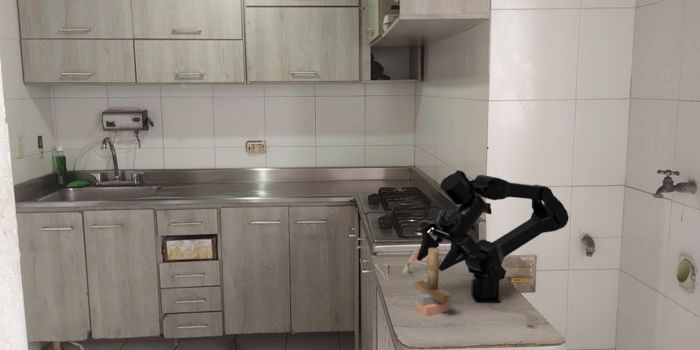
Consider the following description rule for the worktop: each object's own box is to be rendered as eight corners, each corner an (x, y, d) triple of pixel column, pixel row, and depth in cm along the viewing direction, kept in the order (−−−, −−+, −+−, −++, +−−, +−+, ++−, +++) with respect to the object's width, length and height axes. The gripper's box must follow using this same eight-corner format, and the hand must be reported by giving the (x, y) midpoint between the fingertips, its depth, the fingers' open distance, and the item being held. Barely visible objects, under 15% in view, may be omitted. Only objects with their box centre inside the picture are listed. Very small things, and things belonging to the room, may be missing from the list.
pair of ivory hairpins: (373, 267, 178) (373, 261, 178) (388, 267, 178) (388, 261, 178) (380, 290, 161) (380, 283, 161) (397, 290, 161) (397, 283, 161)
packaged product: (435, 263, 165) (401, 261, 168) (434, 279, 166) (401, 277, 169) (440, 247, 183) (410, 245, 185) (440, 261, 183) (409, 259, 186)
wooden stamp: (423, 286, 147) (423, 242, 145) (451, 301, 137) (453, 254, 135) (414, 287, 146) (415, 243, 144) (443, 303, 135) (444, 255, 134)
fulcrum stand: (437, 304, 146) (438, 289, 145) (449, 310, 141) (450, 295, 141) (414, 308, 142) (415, 293, 142) (426, 315, 138) (426, 300, 137)
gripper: (425, 190, 148) (389, 236, 144) (472, 202, 131) (432, 255, 128) (449, 216, 152) (414, 262, 149) (497, 231, 136) (459, 283, 133)
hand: (428, 264), depth 139 cm, fingers open, 9 cm apart
